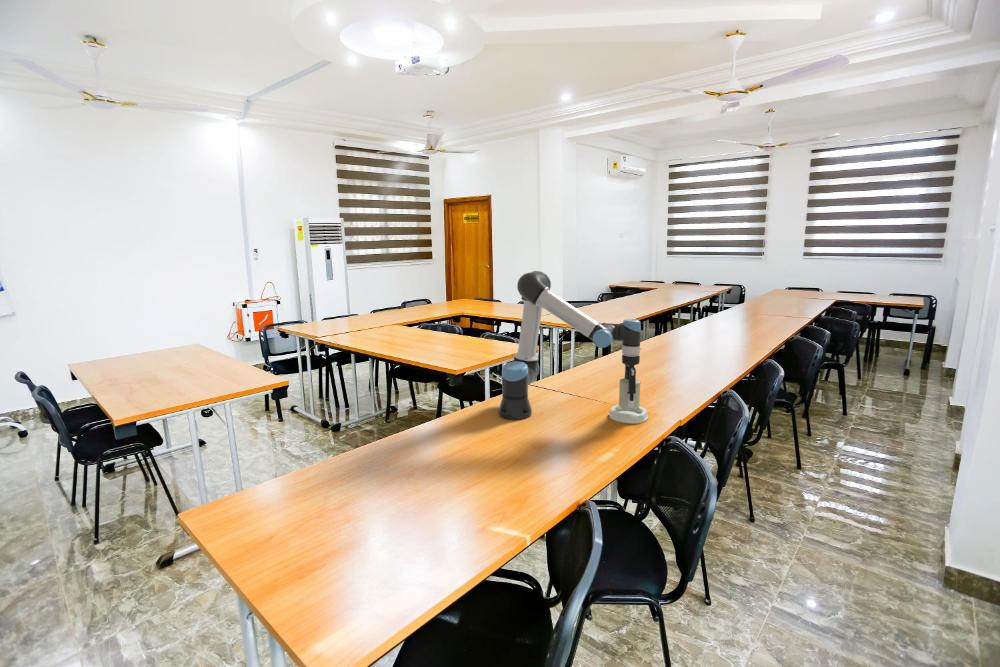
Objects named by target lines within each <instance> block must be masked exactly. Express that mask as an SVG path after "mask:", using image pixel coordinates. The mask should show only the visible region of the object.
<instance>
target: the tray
mask: <svg viewBox="0 0 1000 667" xmlns="http://www.w3.org/2000/svg"><path fill="white" fill-rule="evenodd" d="M608 416H609V419H611V420H613V421H615V422H617V423H620V424H621V423H622V424H629V425H633V424H634V425H636V424H638V425H639V424H643V423H645V422H647V421H648V420H649V414H648V411H647V409H646V408H644V407H642V406H640V407H639V408H637V409H625V408H622V407H620V406H619V404H614V405H613V406H611V407H610V411H609V412H608Z"/></svg>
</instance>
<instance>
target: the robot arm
mask: <svg viewBox="0 0 1000 667" xmlns="http://www.w3.org/2000/svg"><path fill="white" fill-rule="evenodd" d="M551 287H552V281H551V278H550V277H549V275H548V274H547V273H545V272H543V271H539V270H533V271H531V272H526V273H524V274H522V275H520V278H518V280H517V283H516V288H517V291H518V294H519V295H520V296H521V301H522V302H523V309H522V319H521V326H520V333H519V340H518V349H517V352H516V353H515V354H514V357H513V361H511V362H507V363H505V364H504V365H503V366H502V369H501V376H502V377H501V382H502V383H501V388H502V390H501V391H502V393H501V394H502V398H501V401H500V405H499V408H498V415H499V417H501V418H503V419H506V420H514V421H515V420H523V419H527V418H530V417H531V416H532V413H533V411H532V407H531V403H530V400H529V392H528V391H529V385H530V384H532V383H533V382H534V381H536V379H537V377H538V375H539V374H540V365H539V357H538V355H537V349H538V341H539V335H540V333H539V332H540V326H541V321H542V320H541V318H542V313H543V309H545V310H546V311H547V312H549V313H550V314H552V315H553V316H555V317H556V318H558V319H559V320H561V321H563V322H564V323H566V324H567V325H568V326H570V327H572V328H573V329H575V331H578V332H579V333H581V334H582V335H583V336H585V337H587V338H588V339H590V340H591V341H592V342H593V344H594V345H595V346H596V347H597V348H600V349H602V348H604V349H605V348H607V347H609V346H610V345H611V344H612V342H614V341H615V342H622V344H621V353H622V355H621V363H622V364H623V365H624V378H626V379H628V383H629V392H627V394H628V408H634V398H635V393H636V379H637V378H636V376H637V369H636V367H635V366H637V365H639V364H640V361H641V359H640V354H641V349H642V347H641V336H642V335H641V334H642V327H641V321H640V320H639V319H634V318H627V319H623V322H622V323H609V322H607V323H606V322H598V321H597V320H595V319H594V318H592V317H590V316H588V314H586V313H584V312H582V311H581V310H579V308H576V307H574V305H572V304H570V303H569V302H567V301H565V300H564V299H563V298H561V297H560V296H558V295H557V294H555V293H553V292H552V291H550V290H551ZM631 390H633V391H631Z"/></svg>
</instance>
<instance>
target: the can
mask: <svg viewBox="0 0 1000 667" xmlns="http://www.w3.org/2000/svg"><path fill="white" fill-rule="evenodd" d="M631 391H633V390H631ZM618 392H619V394H618V395H619V396H618V397H619V399H618V405H619V406H620V407H622V408H625V409H637V408H639V407H641V405H640V400H641V380H640V379H637V378H636V393H635V398H634V408H628V394H627V392H629V383H628V379H626V378H625V377H624V378H620V379H619V391H618Z"/></svg>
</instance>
